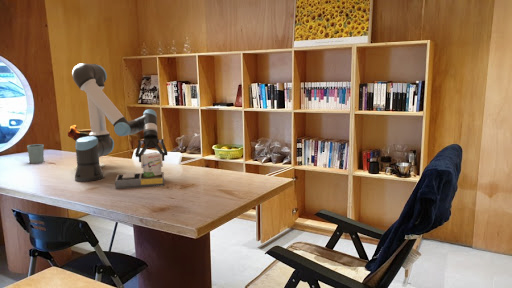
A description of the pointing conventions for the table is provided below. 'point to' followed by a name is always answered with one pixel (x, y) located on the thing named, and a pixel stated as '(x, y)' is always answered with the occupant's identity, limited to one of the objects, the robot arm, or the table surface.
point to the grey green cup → (36, 153)
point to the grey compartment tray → (138, 180)
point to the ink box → (151, 164)
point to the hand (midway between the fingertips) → (152, 166)
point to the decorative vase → (79, 135)
